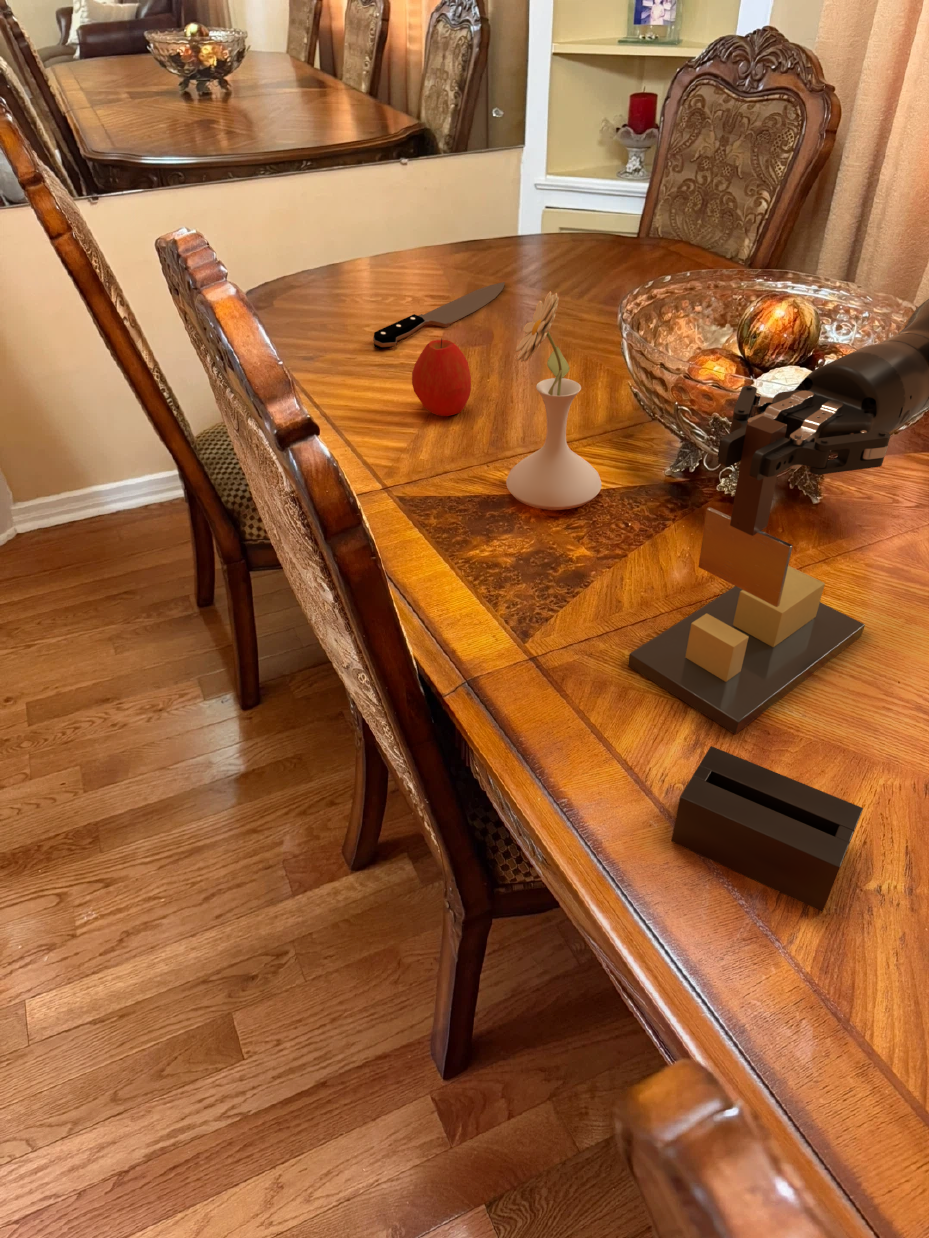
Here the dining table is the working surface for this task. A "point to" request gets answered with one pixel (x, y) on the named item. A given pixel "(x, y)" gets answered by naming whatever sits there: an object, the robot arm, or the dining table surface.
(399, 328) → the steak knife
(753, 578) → the knife
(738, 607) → the butter block
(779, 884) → the knife stand
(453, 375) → the apple
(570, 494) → the flower in vase
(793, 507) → the dining table surface
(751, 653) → the board
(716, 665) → the block
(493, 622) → the dining table surface
